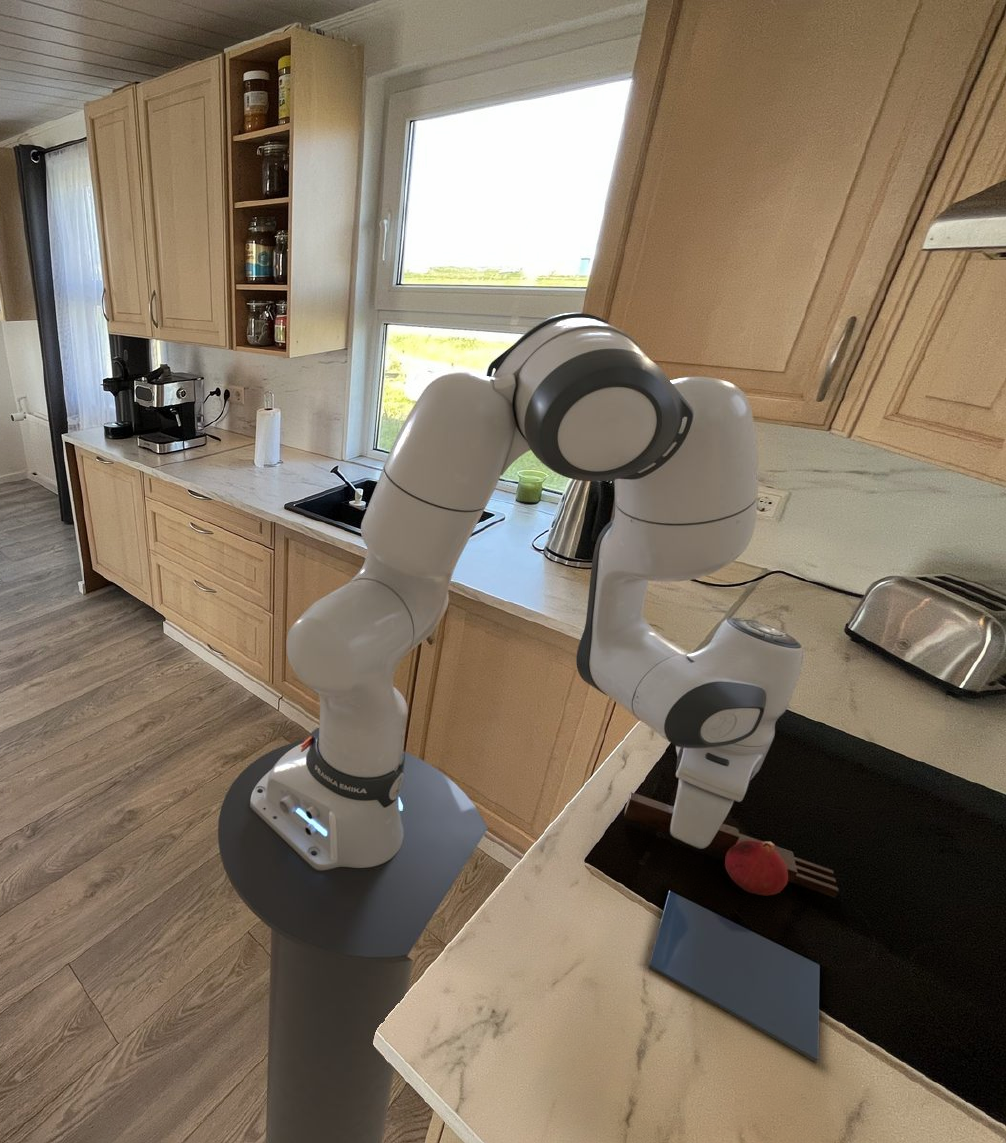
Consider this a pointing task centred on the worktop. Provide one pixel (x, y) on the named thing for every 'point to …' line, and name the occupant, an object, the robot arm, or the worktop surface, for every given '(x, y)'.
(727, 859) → the red fruit
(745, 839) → the fork
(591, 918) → the worktop surface
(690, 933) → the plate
